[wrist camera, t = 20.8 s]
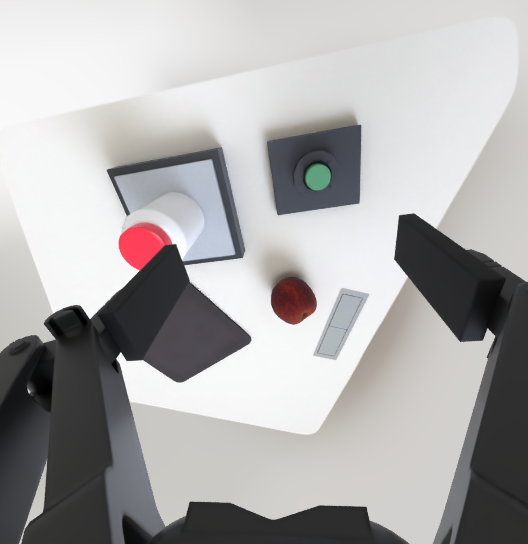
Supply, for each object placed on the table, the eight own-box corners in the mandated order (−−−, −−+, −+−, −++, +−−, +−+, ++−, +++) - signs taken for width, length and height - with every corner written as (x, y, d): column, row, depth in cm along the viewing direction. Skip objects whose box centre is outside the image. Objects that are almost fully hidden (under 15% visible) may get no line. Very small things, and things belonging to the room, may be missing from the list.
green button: (328, 160, 33) (330, 162, 31) (329, 186, 34) (331, 188, 33) (303, 165, 33) (304, 166, 32) (305, 189, 35) (306, 192, 33)
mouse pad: (178, 272, 46) (178, 273, 45) (254, 340, 53) (254, 340, 53) (105, 333, 55) (104, 334, 54) (179, 383, 62) (178, 384, 62)
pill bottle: (204, 195, 35) (176, 221, 26) (205, 245, 39) (180, 284, 29) (149, 188, 35) (100, 212, 25) (155, 239, 39) (115, 276, 29)
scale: (221, 147, 35) (216, 149, 32) (245, 250, 43) (242, 259, 40) (117, 166, 37) (103, 170, 34) (157, 261, 45) (149, 271, 42)
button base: (358, 124, 33) (365, 124, 30) (357, 200, 38) (362, 206, 35) (267, 141, 34) (266, 142, 32) (277, 212, 39) (277, 218, 37)
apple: (290, 310, 49) (292, 341, 42) (262, 286, 46) (258, 315, 39) (320, 288, 46) (327, 317, 39) (291, 262, 43) (293, 287, 37)
